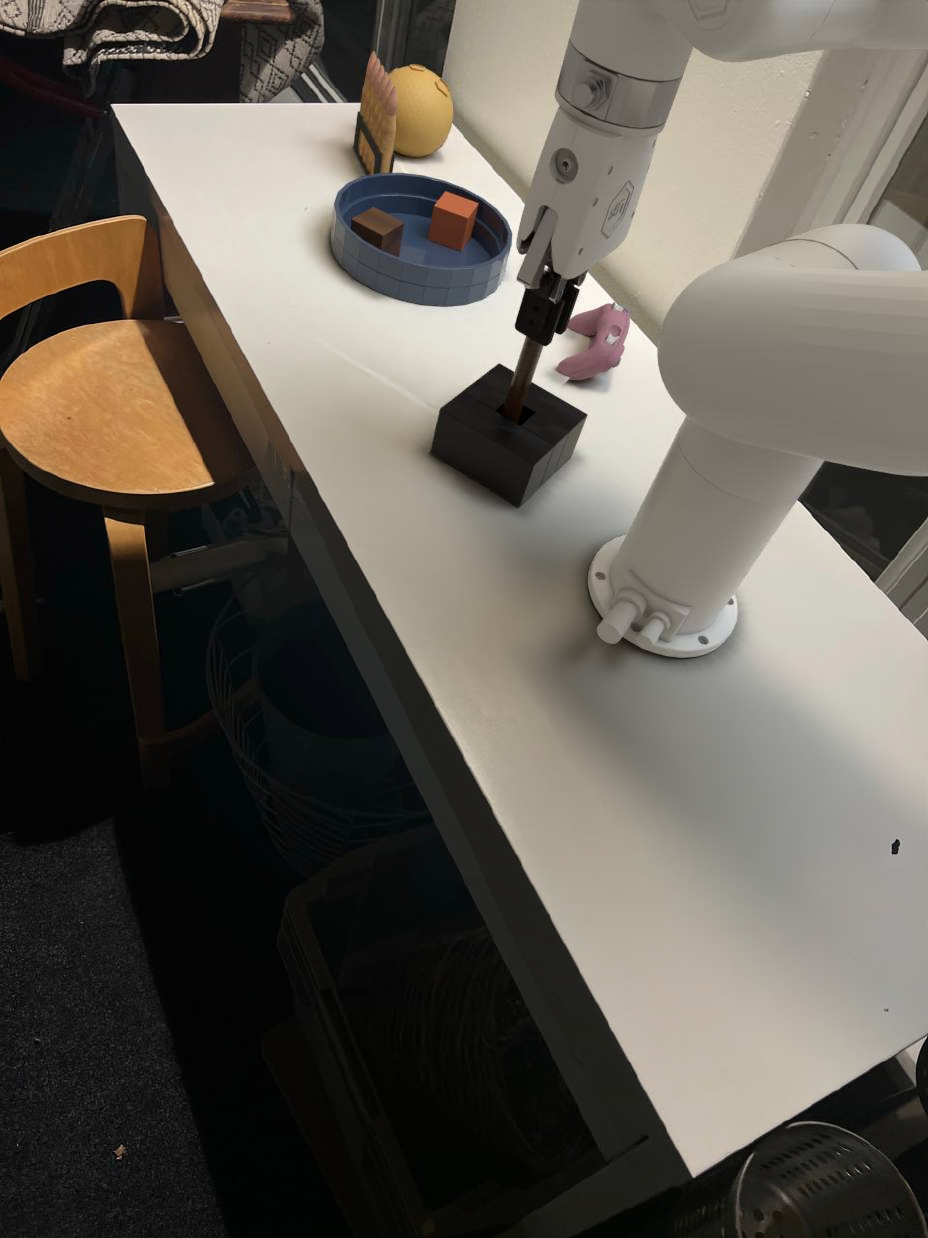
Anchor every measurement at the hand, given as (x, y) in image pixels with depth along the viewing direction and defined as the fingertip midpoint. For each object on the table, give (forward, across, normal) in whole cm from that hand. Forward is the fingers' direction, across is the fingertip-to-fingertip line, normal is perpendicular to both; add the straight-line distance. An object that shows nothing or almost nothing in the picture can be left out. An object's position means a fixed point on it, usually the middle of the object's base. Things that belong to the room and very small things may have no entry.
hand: (539, 329), depth 72 cm
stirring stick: (+9, 0, 0) cm, 9 cm away
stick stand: (+13, 0, 0) cm, 13 cm away
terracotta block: (+12, +26, +24) cm, 37 cm away
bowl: (+13, +20, +24) cm, 34 cm away
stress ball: (+14, +40, +40) cm, 58 cm away
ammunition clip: (+14, +31, +39) cm, 51 cm away
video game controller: (+13, +19, +1) cm, 24 cm away
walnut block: (+12, +16, +27) cm, 33 cm away
